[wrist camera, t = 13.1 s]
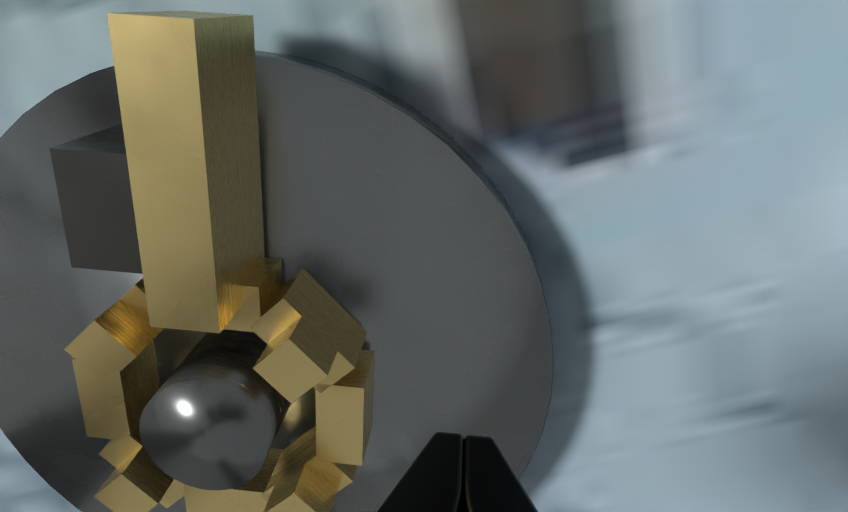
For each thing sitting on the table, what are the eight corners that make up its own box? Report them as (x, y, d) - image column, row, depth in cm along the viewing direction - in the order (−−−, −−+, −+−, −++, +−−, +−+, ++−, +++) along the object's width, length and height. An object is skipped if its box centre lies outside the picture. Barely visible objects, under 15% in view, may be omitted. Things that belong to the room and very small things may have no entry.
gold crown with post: (370, 490, 21) (351, 577, 18) (133, 464, 22) (72, 544, 18) (385, 24, 15) (360, 30, 12) (57, 1, 16) (-53, 2, 12)
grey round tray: (512, 579, 25) (519, 710, 20) (43, 525, 26) (-51, 638, 21) (594, 73, 17) (637, 99, 12) (-83, 26, 18) (-274, 34, 13)
